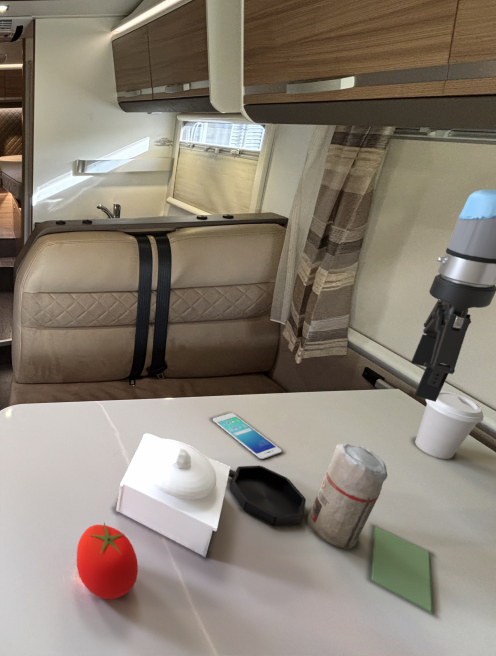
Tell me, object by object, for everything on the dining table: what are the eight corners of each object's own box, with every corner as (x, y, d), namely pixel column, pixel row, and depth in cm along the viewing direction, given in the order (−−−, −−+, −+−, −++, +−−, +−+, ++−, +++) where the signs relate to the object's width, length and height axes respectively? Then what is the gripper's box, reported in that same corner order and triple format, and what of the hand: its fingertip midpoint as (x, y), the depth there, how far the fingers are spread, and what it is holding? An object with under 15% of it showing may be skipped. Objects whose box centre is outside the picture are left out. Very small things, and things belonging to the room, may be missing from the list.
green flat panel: (428, 555, 81) (430, 551, 81) (431, 616, 72) (434, 612, 72) (373, 529, 87) (375, 525, 86) (370, 582, 77) (371, 579, 77)
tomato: (138, 617, 72) (146, 575, 68) (75, 605, 74) (79, 564, 70) (129, 556, 82) (136, 517, 78) (73, 547, 84) (77, 508, 80)
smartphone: (232, 412, 118) (283, 451, 105) (231, 414, 118) (282, 453, 105) (211, 418, 115) (261, 459, 102) (210, 421, 116) (260, 461, 103)
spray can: (316, 505, 92) (344, 432, 84) (363, 535, 85) (398, 459, 78) (298, 525, 87) (326, 451, 80) (347, 558, 81) (382, 481, 74)
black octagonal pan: (305, 497, 93) (309, 486, 92) (294, 539, 85) (299, 528, 83) (200, 447, 107) (203, 437, 106) (182, 479, 98) (184, 468, 97)
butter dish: (140, 459, 104) (148, 407, 98) (222, 495, 94) (237, 440, 88) (115, 512, 91) (123, 455, 85) (207, 561, 81) (224, 501, 75)
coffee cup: (458, 472, 99) (486, 421, 94) (403, 449, 106) (426, 400, 100) (461, 451, 105) (487, 402, 99) (409, 430, 112) (431, 383, 106)
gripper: (430, 256, 85) (395, 347, 93) (443, 297, 68) (398, 404, 76) (485, 264, 81) (443, 359, 89) (514, 310, 63) (458, 423, 71)
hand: (422, 380), depth 82 cm, fingers open, 13 cm apart
